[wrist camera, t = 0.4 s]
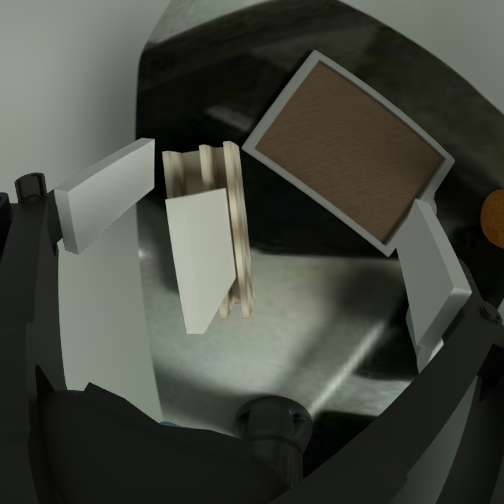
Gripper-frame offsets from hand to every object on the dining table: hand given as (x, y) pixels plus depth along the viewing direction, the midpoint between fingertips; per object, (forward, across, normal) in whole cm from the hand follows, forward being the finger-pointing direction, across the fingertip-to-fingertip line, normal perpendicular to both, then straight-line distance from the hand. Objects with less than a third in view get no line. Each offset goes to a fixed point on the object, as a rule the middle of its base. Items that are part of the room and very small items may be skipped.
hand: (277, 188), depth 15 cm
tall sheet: (+26, +8, +19) cm, 33 cm away
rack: (+27, +11, +20) cm, 35 cm away
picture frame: (+34, -8, +6) cm, 35 cm away
